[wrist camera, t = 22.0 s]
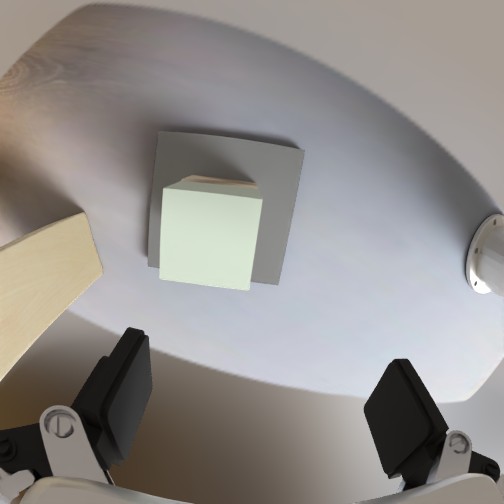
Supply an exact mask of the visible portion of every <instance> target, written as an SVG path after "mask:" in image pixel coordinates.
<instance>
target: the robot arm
mask: <svg viewBox="0 0 504 504" xmlns="http://www.w3.org/2000/svg"><path fill="white" fill-rule="evenodd" d="M466 275H467V280H468V283H469V285H470V287H471V288H472V289H473V290H475V291H476V292H478V293H482V294H483V293H487V292H489V291H493V292H494V293H495V294H497V295H498V296H499V297H501V298H502V299H503V300H504V216H503V215H500V214H494V215H491V216H490V217H488V218H487V219H486V220H485V221H484V222H483V223H482V224H481V225H480V227H479V228H478V230H477V232H476V233H475V235H474V237H473V240H472V242H471V245H470V248H469V252H468V256H467V263H466ZM149 351H150V350H149V337H148V336H147V335H145V334H144V331H143V330H139V329H135V328H131V327H128V328H127V329H126V331H125V333H124V334H123V336H122V337H121V339H120V340H119V342H118V343H117V345H116V347H115V348H114V350H113V351H112V353H111V354H110V356H109V357H107V356H103V357H102V358H101V359H100V360H99V362H98V363H97V365H96V367H95V368H94V370H93V371H92V373H91V375H90V376H89V377H88V379H87V381H86V382H85V384H84V386H83V387H82V389H81V390H80V392H79V394H78V396H77V397H76V399H75V400H74V402H73V404H72V406H71V407H70V408H69V407H66V406H53V407H50V408H48V409H47V410H45V411H44V413H43V414H42V415H41V418H40V423H36V424H32V425H27V426H22V427H17V428H12V429H6V430H0V504H10V503H11V501H12V500H13V499H14V498H15V497H17V496H18V495H19V493H18V492H20V491H22V490H23V489H25V488H26V489H28V491H27V492H26V493H25V495H24V497H23V499H22V500H21V502H20V504H191V503H186V502H180V501H174V500H170V499H165V498H161V497H156V496H152V495H148V494H144V493H141V492H137V491H133V490H129V489H125V488H122V487H118V486H115V485H114V483H113V481H112V479H111V477H110V475H109V473H108V471H107V470H109V469H110V468H111V465H112V463H113V464H116V465H118V466H120V464H121V461H122V460H124V461H126V460H127V458H128V455H129V452H130V450H131V447H132V444H133V441H134V438H135V435H136V432H137V430H138V427H139V424H140V421H141V419H142V416H143V413H144V410H145V407H146V405H147V402H148V400H149V397H150V394H151V391H152V376H151V364H150V352H149ZM364 413H365V417H366V419H367V422H368V425H369V428H370V431H371V434H372V437H373V439H374V443H375V446H376V449H377V451H378V454H379V458H380V461H381V464H382V467H383V470H384V472H385V473H386V474H387V475H388V478H389V479H392V478H396V477H400V476H401V475H402V477H403V479H402V482H401V484H400V486H399V488H398V490H397V492H396V494H392V495H389V496H384V497H380V498H376V499H371V500H367V501H362V502H356V503H350V504H504V475H503V474H501V475H500V468H499V465H498V464H497V463H496V462H495V461H494V460H492V459H490V458H488V457H486V456H483V455H481V454H479V453H476V452H474V451H472V443H471V440H470V438H469V437H468V436H467V435H466V434H465V433H463V432H461V431H458V430H457V431H451V432H450V433H449V434H448V435H447V434H446V431H447V430H448V429H449V428H448V426H447V424H446V422H445V420H444V418H443V416H442V415H441V413H440V411H439V409H438V408H437V406H436V404H435V402H434V401H433V399H432V397H431V395H430V394H429V392H428V390H427V389H426V387H425V385H424V384H423V382H422V380H421V379H420V377H419V376H418V374H417V372H416V371H415V369H414V368H413V366H412V364H411V363H410V361H409V360H408V359H394V360H393V361H392V362H391V363H389V365H388V367H387V368H386V370H385V372H384V374H383V376H382V377H381V379H380V381H379V382H378V384H377V386H376V387H375V389H374V391H373V392H372V394H371V396H370V397H369V399H368V400H367V402H366V404H365V406H364Z"/></svg>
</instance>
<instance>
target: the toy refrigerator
mask: <svg viewBox="0 0 504 504" xmlns="http://www.w3.org/2000/svg"><path fill="white" fill-rule="evenodd" d="M102 274H103V268H102V265H101V262H100V259H99V256H98V253H97V250H96V247H95V244H94V241H93V237H92V234H91V231H90V227H89V224H88V220H87V217H86V214H85V212H82V213H79V214H76V215H73V216H70V217H67V218H64V219H62V220H59V221H56V222H53V223H51V224H48V225H46V226H44V227H41V228H39V229H37V230H35V231H33V232H30V233H28V234H26V235H24V236H22V237H20V238H18V239H16V240H14V241H12V242H10V243H8V244H6V245H4V246H2V247H0V381H1V380H2V379H3V377H4V376H5V375H6V374H7V373H8V371H9V370H10V369H11V368H12V367H13V365H14V364H15V363H16V362H17V361H18V360H19V359H20V357H21V356H22V355H23V354H24V353H25V352H26V351H27V350H28V348H29V347H30V346H31V345H32V344H33V343H34V342H35V341H36V340H37V338H38V337H39V336H40V335H41V334H42V333H43V332H44V331H45V330H46V329H47V328H48V327H49V326H50V325H51V324H52V323H53V322H54V320H56V318H58V316H59V315H60V314H61V313H62V312H63V311H64V310H65V309H66V308H67V307H68V306H69V305H70V304H72V303H73V302H74V301H75V300H76V299H77V298H78V297H79V296H80V295H81V294H82V293H83V292H84V291H85V290H86V289H87V288H88V287H89V286H90V285H91V284H92V283H94V282H95V281H96V280H97V279H98V278H99V277H100V276H101V275H102Z"/></svg>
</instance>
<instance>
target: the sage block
mask: <svg viewBox="0 0 504 504" xmlns="http://www.w3.org/2000/svg"><path fill="white" fill-rule="evenodd" d="M262 201H263V199H262V196H261V194H260V191H259V190H258V189H251V188H243V187H235V186H227V185H219V184H210V183H200V182H190V181H180V182H177V183H175V184H172V185H170V186H167V187H165V188H163V199H162V214H161V235H160V279H164V280H171V281H178V282H185V283H192V284H199V285H207V286H215V287H223V288H231V289H239V290H248V291H249V287H250V280H251V274H252V267H253V260H254V254H255V247H256V241H257V234H258V227H259V221H260V214H261V208H262Z"/></svg>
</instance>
